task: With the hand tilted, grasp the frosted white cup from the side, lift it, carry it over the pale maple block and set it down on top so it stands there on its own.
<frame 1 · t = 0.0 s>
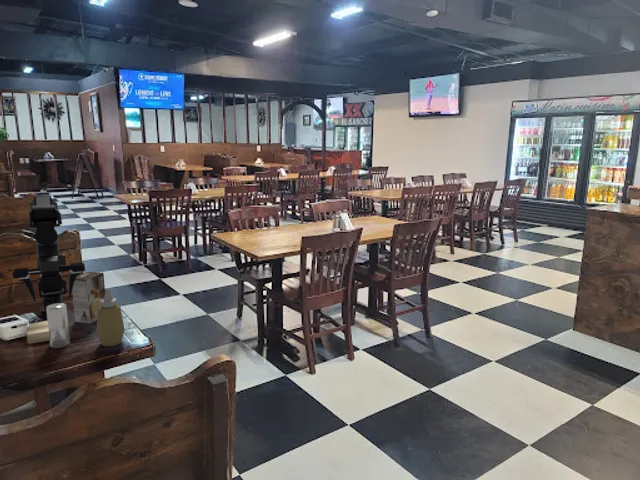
hand: (52, 298, 140), 15 cm above the table, tool pointing down, fingers open, 9 cm apart
coffee box: (91, 318, 165), on the table
squeeze bottle: (111, 343, 146), on the table
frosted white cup: (60, 344, 144), on the table
block: (46, 334, 150), on the table
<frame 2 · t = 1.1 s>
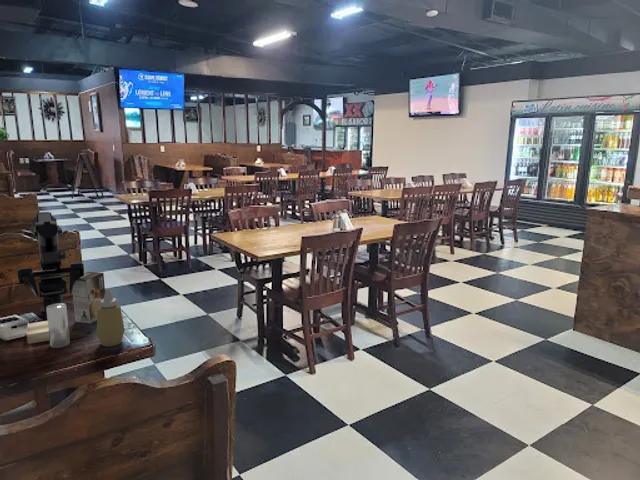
hand: (54, 295, 148), 13 cm above the table, tool tilted 45°, fingers open, 9 cm apart
nothing on the table moved.
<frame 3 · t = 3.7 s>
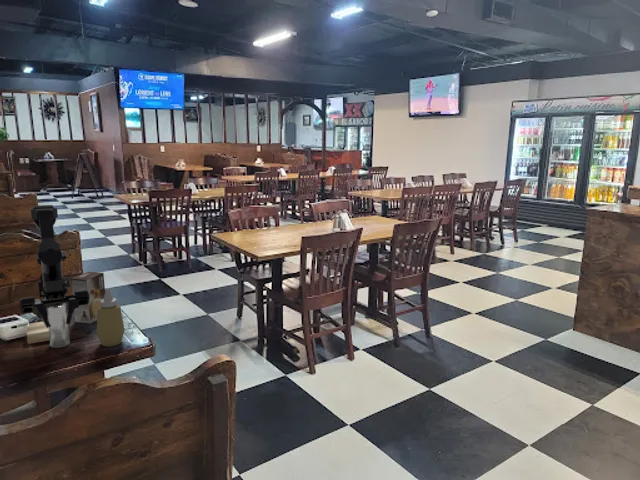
hand: (58, 325, 142), 7 cm above the table, tool tilted 45°, fingers closed on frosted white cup, 5 cm apart
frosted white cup: (60, 343, 144), on the table, touching gripper
everything else where it was.
when the fingers open (10 cm above the table, at t = 7.3 s): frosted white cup stays where it is, resting on block.
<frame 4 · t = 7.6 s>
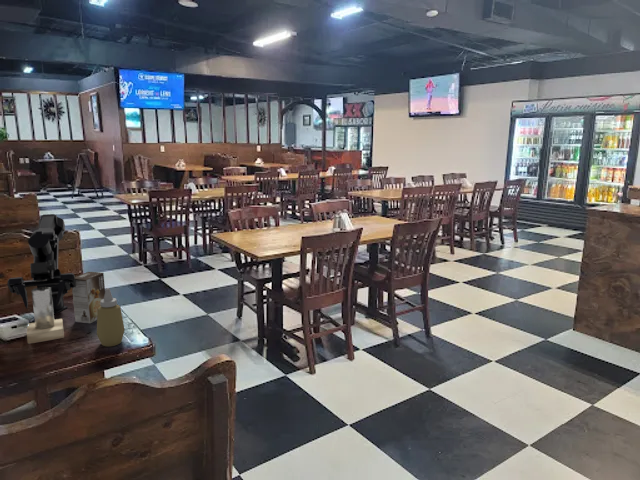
hand: (42, 306, 147), 10 cm above the table, tool tilted 45°, fingers open, 8 cm apart
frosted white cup: (45, 326, 150), point 3 cm above the table, touching block
everything else where it was.
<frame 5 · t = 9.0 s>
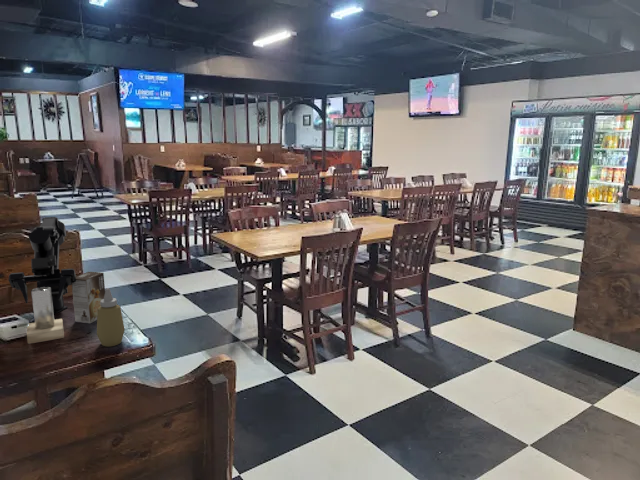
hand: (43, 301, 149), 11 cm above the table, tool tilted 45°, fingers open, 9 cm apart
coffee box: (91, 318, 165), on the table, touching gripper
everything else where it was.
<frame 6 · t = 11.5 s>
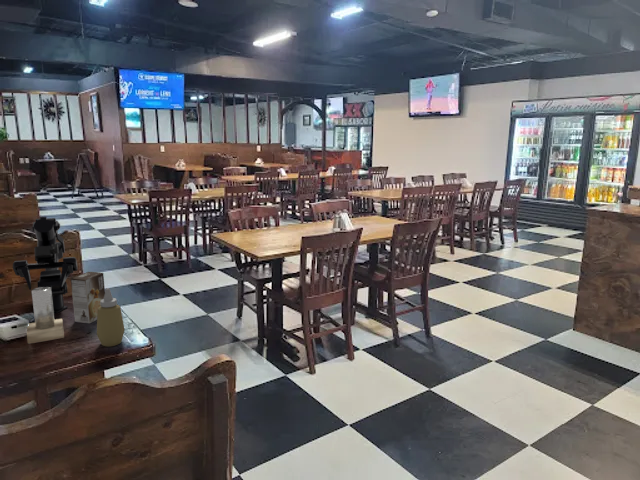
hand: (45, 287, 155), 14 cm above the table, tool tilted 45°, fingers open, 9 cm apart
coffee box: (91, 318, 165), on the table
everything else where it was.
at the end: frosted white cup inside the target area on the block (0.1 cm from its centre), point 3.1 cm above the block's base; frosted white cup tilted 1°; the gripper is holding nothing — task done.
